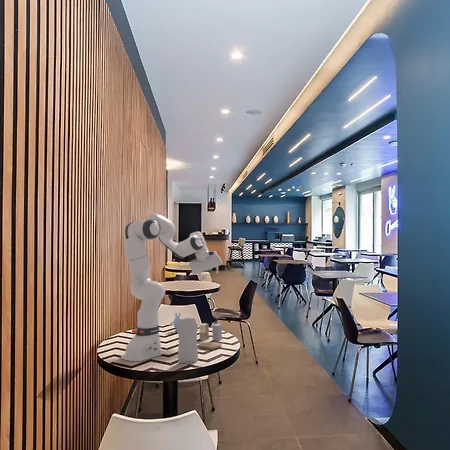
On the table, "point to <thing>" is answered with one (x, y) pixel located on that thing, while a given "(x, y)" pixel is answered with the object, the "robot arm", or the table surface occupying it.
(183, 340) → the tall pale column
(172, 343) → the table surface
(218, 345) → the walnut board
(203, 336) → the birch block
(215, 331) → the slate grey block
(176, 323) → the toy figure
